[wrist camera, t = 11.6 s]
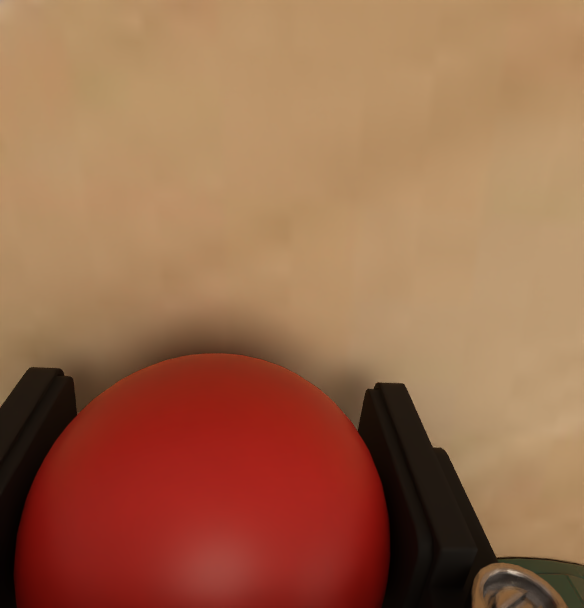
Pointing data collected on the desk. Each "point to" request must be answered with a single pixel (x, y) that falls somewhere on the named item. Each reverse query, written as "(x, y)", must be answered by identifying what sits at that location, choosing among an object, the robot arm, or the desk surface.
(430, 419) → the desk surface
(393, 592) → the robot arm
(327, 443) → the apple
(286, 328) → the desk surface
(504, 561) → the pot
